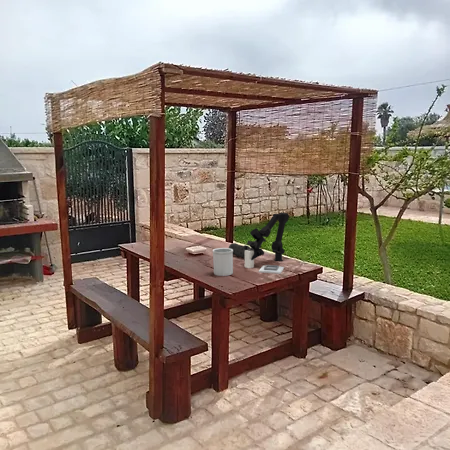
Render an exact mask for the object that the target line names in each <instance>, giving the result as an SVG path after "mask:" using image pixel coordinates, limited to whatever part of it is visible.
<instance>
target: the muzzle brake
mask: <svg viewBox="0 0 450 450" xmlns="http://www.w3.org/2000/svg"><path fill="white" fill-rule="evenodd" d="M243 247H244V245H241V244H238V243H233V242H232V243H231V244H229V245H228V248H230V249H233V256H236V257H241V258H242V259H245V258H244V256H245V250H244V248H243Z"/></svg>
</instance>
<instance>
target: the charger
mask: <svg viewBox="0 0 450 450" xmlns="http://www.w3.org/2000/svg"><path fill="white" fill-rule="evenodd" d="M253 255H254V251H253V250H245V258H244V268H246V269H253V268H255V259H253V260H251V258H252V256H253Z"/></svg>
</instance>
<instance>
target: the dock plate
mask: <svg viewBox="0 0 450 450" xmlns="http://www.w3.org/2000/svg"><path fill="white" fill-rule="evenodd" d="M284 269H285V267H284V266H280V265H276V264H275V265H272V264H266V265H262V266H261V267H260V269H259V270H258V273H263V274H264V273H265V274H279V275H281V274H282V272H283V270H284Z"/></svg>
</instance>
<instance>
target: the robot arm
mask: <svg viewBox="0 0 450 450" xmlns="http://www.w3.org/2000/svg"><path fill="white" fill-rule="evenodd" d="M289 218H290V215H289V213H288V212H281V211H280V212H279V213H274V214H272V217H271V218H270V220H269V221H268V223H267V224H266V225H265V226H263V227H262V228H260V230H259V229H258V228H256V227H255V228H254V229H253V230H251V231H250V232H249V233H250V236H252V238H253V239H254V240H253V241H252V240H247V243H246V244H245V245H243V246H244V247H243V248H244V250H253V251H254V255H253V256H252V258H251V260H253V259H254V260H255V259H256V258H258V257H261V256H264V255H265V251H264V250H263V249H262V245H263V243H266V242H267V240H266V238H268V237H270V234H271V232H272V229H273V228H274V227H275V225H276V223H277V222H278V227H277V232H276V236H275V240H274V241H272V242H271V251H272V253H274V258H273V260H274V262H283V261H284V260H283V255H284V254H285V249H284V248H283V241H282V239H283V236H284V231H285V225H286V224H287V223H288V221H289ZM243 259H245V256H244V258H243Z"/></svg>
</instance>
